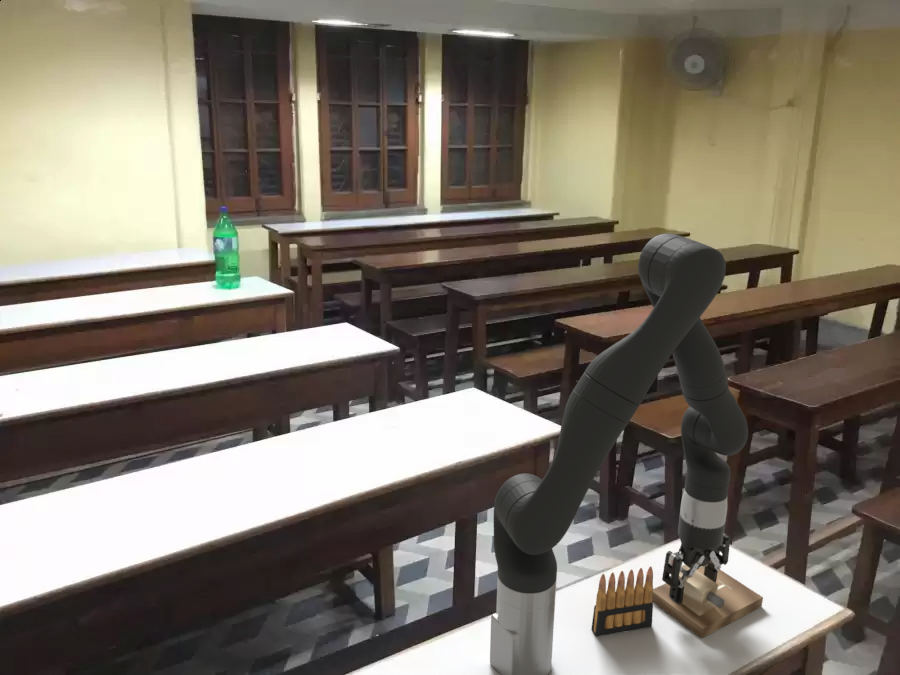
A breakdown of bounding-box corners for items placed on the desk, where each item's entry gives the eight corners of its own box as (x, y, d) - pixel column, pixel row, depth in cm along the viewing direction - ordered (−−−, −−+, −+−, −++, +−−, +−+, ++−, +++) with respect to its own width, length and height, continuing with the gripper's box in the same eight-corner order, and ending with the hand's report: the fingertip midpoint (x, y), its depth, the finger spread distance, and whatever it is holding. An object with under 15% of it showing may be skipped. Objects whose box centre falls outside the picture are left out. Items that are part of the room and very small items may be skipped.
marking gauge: (710, 624, 127) (714, 600, 125) (658, 586, 136) (661, 563, 135) (726, 616, 129) (730, 592, 127) (673, 579, 138) (676, 556, 137)
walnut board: (701, 638, 126) (703, 628, 126) (650, 599, 136) (651, 590, 135) (761, 606, 134) (763, 597, 134) (708, 571, 144) (709, 563, 143)
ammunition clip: (595, 636, 127) (600, 578, 123) (591, 629, 128) (595, 571, 124) (652, 626, 129) (658, 569, 125) (646, 619, 131) (653, 562, 127)
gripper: (691, 537, 120) (681, 619, 125) (748, 513, 127) (736, 592, 132) (657, 516, 126) (648, 595, 131) (713, 494, 133) (703, 570, 138)
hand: (692, 593), depth 132 cm, fingers open, 8 cm apart
